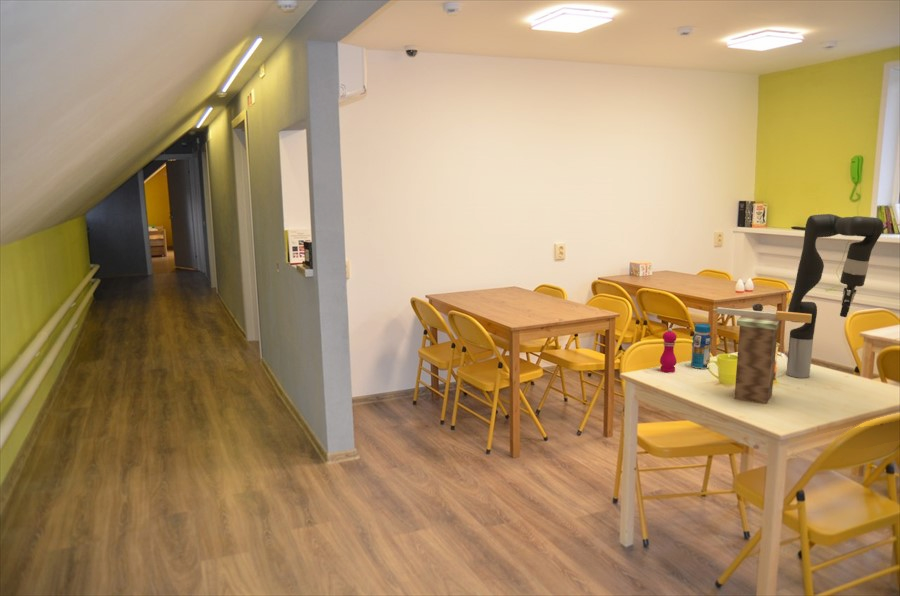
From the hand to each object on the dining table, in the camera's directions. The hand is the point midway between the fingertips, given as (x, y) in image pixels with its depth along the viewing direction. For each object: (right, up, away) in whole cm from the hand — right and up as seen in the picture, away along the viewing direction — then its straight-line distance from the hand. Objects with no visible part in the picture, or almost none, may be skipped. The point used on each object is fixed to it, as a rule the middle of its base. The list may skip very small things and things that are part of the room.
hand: (844, 314), depth 243 cm
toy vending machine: (+1, -24, +73) cm, 77 cm away
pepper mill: (-46, -27, +58) cm, 79 cm away
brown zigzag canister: (-23, -34, +22) cm, 47 cm away
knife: (-22, -2, +19) cm, 29 cm away
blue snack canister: (-29, -26, +63) cm, 75 cm away
